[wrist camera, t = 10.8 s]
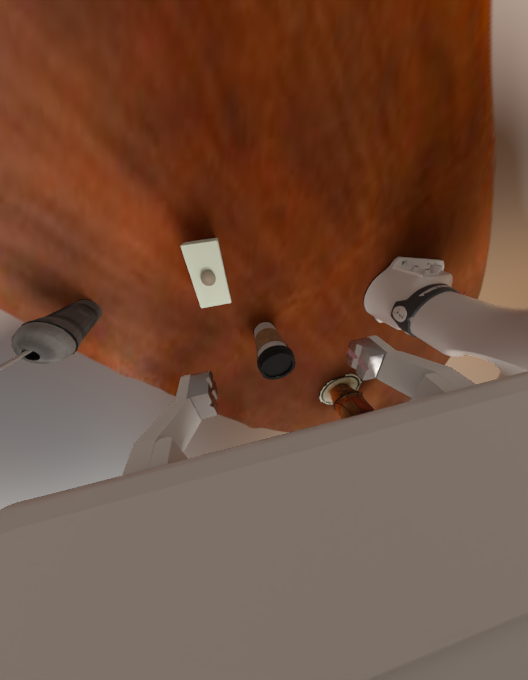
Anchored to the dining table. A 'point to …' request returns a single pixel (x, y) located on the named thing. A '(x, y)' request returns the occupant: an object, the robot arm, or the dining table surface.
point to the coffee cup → (272, 352)
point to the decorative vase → (345, 396)
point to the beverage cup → (54, 334)
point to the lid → (207, 271)
